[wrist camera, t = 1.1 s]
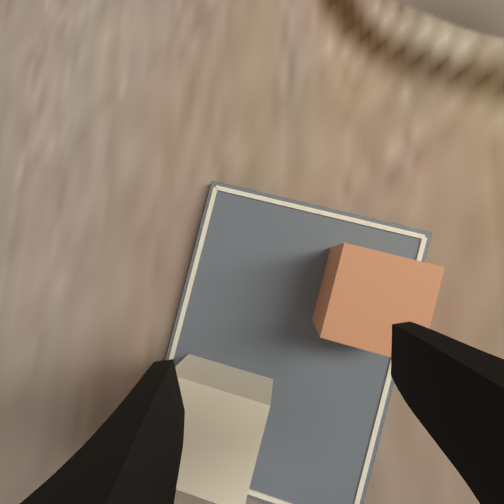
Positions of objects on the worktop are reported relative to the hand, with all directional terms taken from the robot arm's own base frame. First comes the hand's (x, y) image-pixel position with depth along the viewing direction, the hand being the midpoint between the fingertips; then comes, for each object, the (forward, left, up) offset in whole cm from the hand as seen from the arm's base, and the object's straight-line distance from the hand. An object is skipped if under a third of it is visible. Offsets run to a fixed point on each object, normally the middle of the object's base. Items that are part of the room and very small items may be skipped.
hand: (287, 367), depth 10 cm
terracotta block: (-4, -2, -11) cm, 12 cm away
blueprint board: (0, +2, -12) cm, 12 cm away
